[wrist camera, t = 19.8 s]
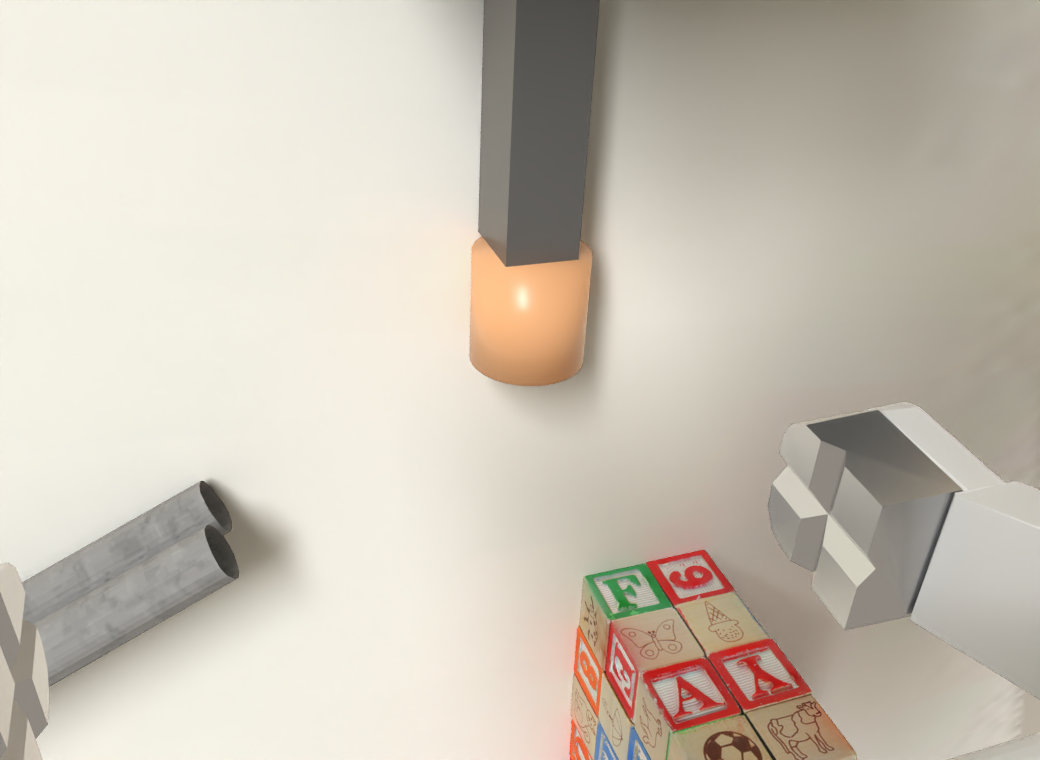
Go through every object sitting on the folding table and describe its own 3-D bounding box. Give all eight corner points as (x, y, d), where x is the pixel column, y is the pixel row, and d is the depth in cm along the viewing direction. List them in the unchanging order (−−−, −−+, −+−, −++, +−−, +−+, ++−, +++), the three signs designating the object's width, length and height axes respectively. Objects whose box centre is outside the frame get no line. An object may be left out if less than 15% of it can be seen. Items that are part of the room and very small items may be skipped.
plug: (463, -231, 27) (510, -231, 24) (599, -224, 28) (661, -223, 25) (456, 336, 36) (489, 393, 33) (559, 324, 37) (600, 377, 34)
